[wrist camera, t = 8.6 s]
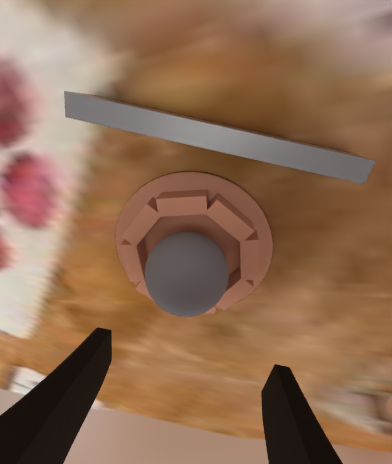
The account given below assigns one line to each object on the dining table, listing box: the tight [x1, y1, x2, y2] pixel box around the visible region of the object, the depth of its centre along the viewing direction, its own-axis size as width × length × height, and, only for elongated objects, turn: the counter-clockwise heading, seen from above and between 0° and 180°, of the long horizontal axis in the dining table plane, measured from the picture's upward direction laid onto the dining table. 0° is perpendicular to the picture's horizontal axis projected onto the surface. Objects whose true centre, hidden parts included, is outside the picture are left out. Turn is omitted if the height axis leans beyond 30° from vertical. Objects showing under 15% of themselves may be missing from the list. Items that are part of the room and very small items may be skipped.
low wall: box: [64, 91, 376, 184], centre depth 14 cm, size 16×1×3 cm, turn 79°
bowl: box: [115, 171, 273, 313], centre depth 18 cm, size 12×12×2 cm
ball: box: [145, 232, 229, 317], centre depth 16 cm, size 6×6×6 cm
